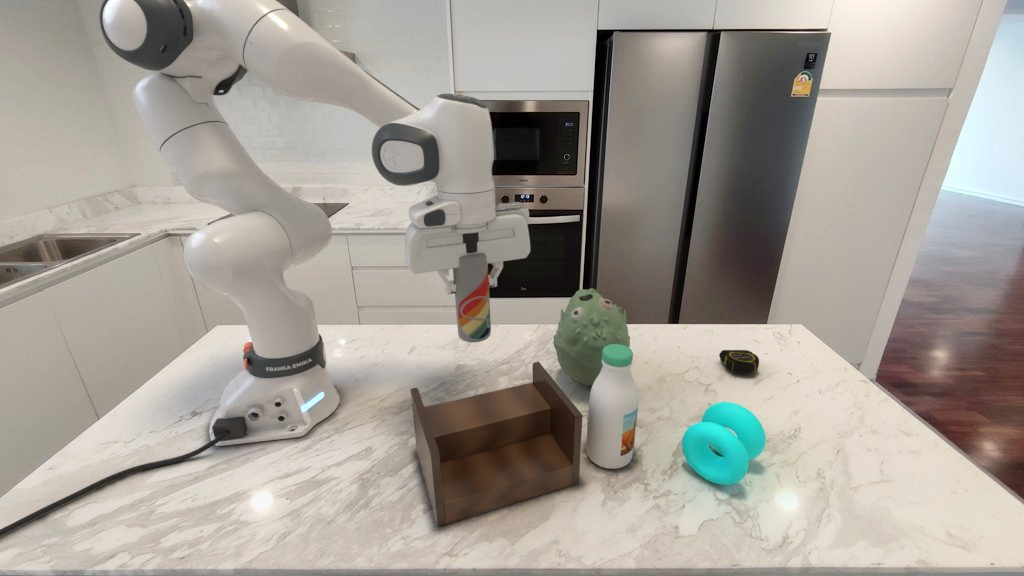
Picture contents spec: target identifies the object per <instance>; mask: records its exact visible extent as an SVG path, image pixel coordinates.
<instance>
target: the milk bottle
mask: <svg viewBox="0 0 1024 576" xmlns="http://www.w3.org/2000/svg"><path fill="white" fill-rule="evenodd" d="M633 359H634V353H633V350H632V349H631V348H630V347H629V348H628V347H627V346H624V345H620V344H611V345H607V346H605V347H604V348H603V351H602V364H603V367H602V369H601V371H600V373H599V375H598V377H597V378H596V380H595V381H594V383H593V385H591V389H590V392H589V401H588V409H587V410H588V411H587V426H586V443H585V445H586V446H585V451H586V455H587V456H588V458H589V459H590V461H591V462H592V463H594V464H595V465H596V466H599V467H600V468H604V469H609V470H614V469H615V470H616V469H622V468H624V467H626V466H627V465H628V464H630V462H631V461H632V460H633V455H634V446H635V439H636V430H637V429H636V427H637V418H638V409H639V408H638V405H639V404H638V403H639V394H638V390H637V386H636V383H635V381H634V378H633V376H632V372H631V367H632V366H633Z"/></svg>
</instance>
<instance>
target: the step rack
mask: <svg viewBox="0 0 1024 576" xmlns="http://www.w3.org/2000/svg"><path fill="white" fill-rule="evenodd" d="M409 391H410V402H411V411H412V418H413V429H414V436H415V446H416V447H415V448H416V455H417V458H418V462H419V465H420V468H421V472H422V475H423V479H424V483H425V487H426V490H427V495H428V498H429V501H430V505H431V509H432V512H433V515H434V519H435V523H436V526H437V527H442V526H446V525H449V524H452V523H455V522H458V521H461V520H464V519H468V518H472V517H475V516H478V515H481V514H484V513H487V512H488V513H489V512H491V511H493V510H497V509H501V508H503V507H506V506H507V507H508V506H510V505H513V504H516V503H520V502H523V501H526V500H530V499H533V498H536V497H539V496H542V495H545V494H549V493H552V492H554V491H555V492H556V491H558V490H559V491H560V490H562V489H565V488H568V487H572V486H574V485H578V484H579V483H580V468H581V453H582V451H581V450H582V433H583V431H582V430H583V414H582V412H580V410H579V409H578V408H577V406H576V405H575V404H574V402H572V401H571V399H570V398H569V396H567V394H566V393H565V392H564V391H563V389H562V388H561V387H560V386H559V384H558V383H557V382H556V381H555V380H554V378H553V377H552V376H551V375H550V373H549V372H548V371H547V369H545V368H544V366H543V365H542V364H541V363H540V361H535V362H532V382H528V383H524V384H520V385H515V386H511V387H507V388H503V389H498V390H493V391H489V392H484V393H479V394H475V395H470V396H466V397H462V398H457V399H454V400H447V401H445V402H440V403H435V404H431V405H426V406H425V405H424V402H423V400H422V399H423V398H422V396H421V394H420V391H419V388H418V387H411V388H410V390H409Z"/></svg>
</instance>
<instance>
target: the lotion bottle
mask: <svg viewBox="0 0 1024 576" xmlns="http://www.w3.org/2000/svg"><path fill="white" fill-rule="evenodd" d="M478 241H479V233H478V232H477V233H465V234H463V243H465V244H466V253H474V252H477V242H478ZM488 275H489V263H488V264H487V260H486V254H485V253H475V254H469V255H465V256H462V257H460V258H459V268H454V269H452V276H453V280H454V282H455V283H456V285H457V288H456V290H457V293H454V299H455V300H454V301H455V312H456V315H455V316H456V325H457V334H458V335H457V336H458V338H459V339H460V340H461V341H463V342H466V343H480V342H483V341H486V340H488V339H489V338H490V337H491V335H492V323H491V321H492V320H491V302H490V299H491V298H490V288H489V279H488Z"/></svg>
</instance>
